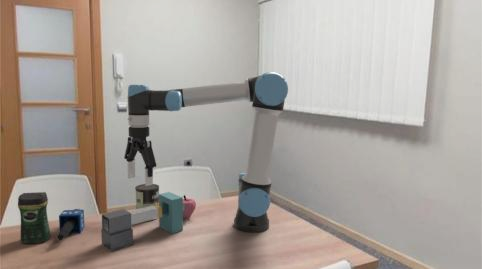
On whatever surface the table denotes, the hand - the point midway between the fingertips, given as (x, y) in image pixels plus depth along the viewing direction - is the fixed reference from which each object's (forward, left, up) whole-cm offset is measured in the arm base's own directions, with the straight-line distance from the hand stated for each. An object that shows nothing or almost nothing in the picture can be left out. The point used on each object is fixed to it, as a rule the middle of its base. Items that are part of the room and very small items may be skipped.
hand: (140, 181), depth 139 cm
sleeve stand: (0, +10, -23) cm, 25 cm away
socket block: (0, -14, -23) cm, 26 cm away
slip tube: (0, +3, -16) cm, 16 cm away
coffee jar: (+24, +31, -23) cm, 45 cm away
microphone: (+22, +19, -23) cm, 37 cm away
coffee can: (+18, -13, -23) cm, 32 cm away
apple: (+6, -25, -23) cm, 34 cm away
